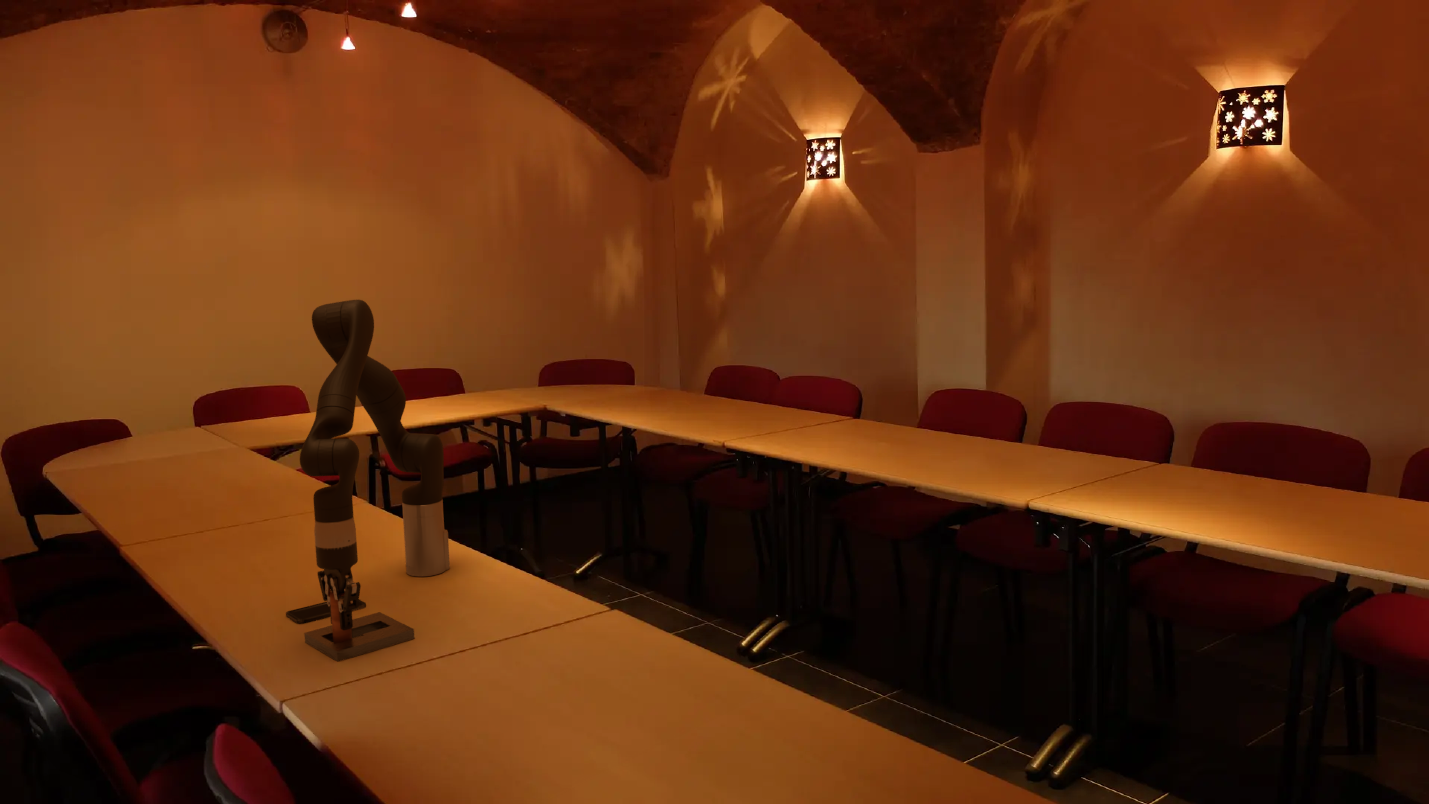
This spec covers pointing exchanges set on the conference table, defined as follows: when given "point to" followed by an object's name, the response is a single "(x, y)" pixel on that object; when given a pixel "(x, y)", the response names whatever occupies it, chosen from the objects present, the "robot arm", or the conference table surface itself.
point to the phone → (314, 612)
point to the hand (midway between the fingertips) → (341, 626)
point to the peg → (338, 622)
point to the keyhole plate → (361, 637)
